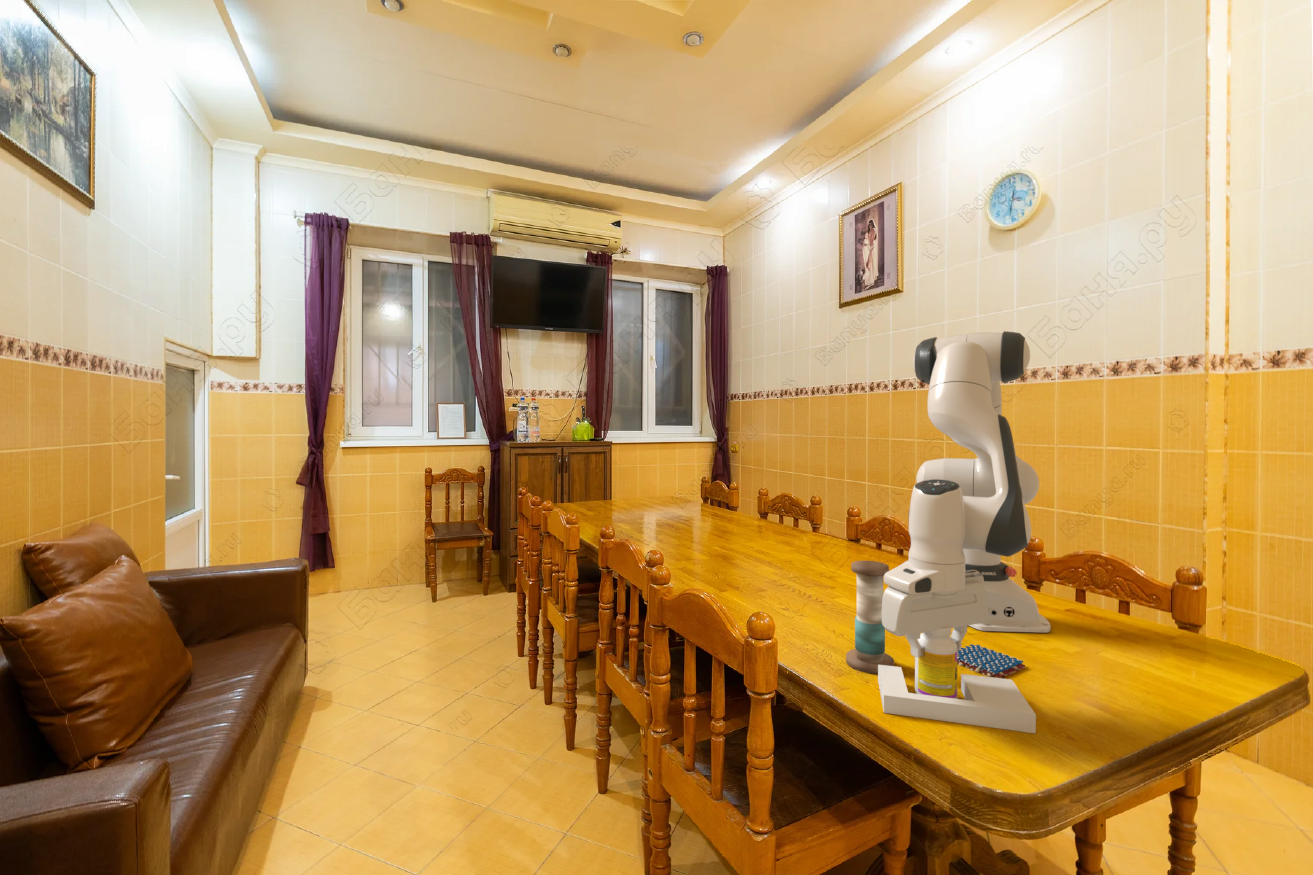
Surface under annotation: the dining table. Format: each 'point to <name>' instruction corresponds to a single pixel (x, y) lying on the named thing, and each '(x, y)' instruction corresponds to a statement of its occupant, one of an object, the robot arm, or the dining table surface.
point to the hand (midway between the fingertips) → (935, 652)
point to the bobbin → (869, 619)
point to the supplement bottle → (937, 665)
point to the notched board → (960, 702)
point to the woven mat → (988, 661)
